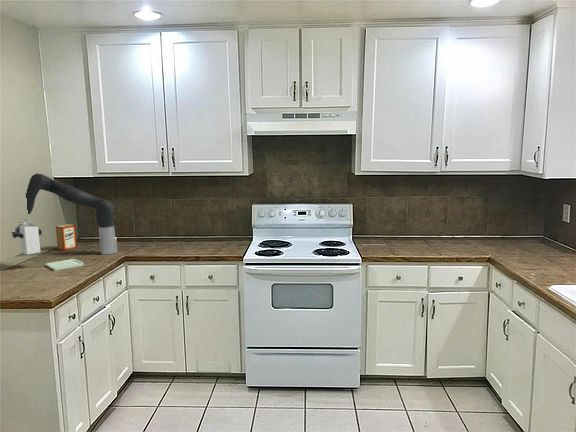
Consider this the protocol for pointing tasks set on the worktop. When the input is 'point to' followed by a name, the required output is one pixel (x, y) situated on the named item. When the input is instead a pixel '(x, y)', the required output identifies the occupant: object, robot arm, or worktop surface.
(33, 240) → the milk carton
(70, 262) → the tray
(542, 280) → the worktop surface
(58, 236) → the baking soda box
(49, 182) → the robot arm
